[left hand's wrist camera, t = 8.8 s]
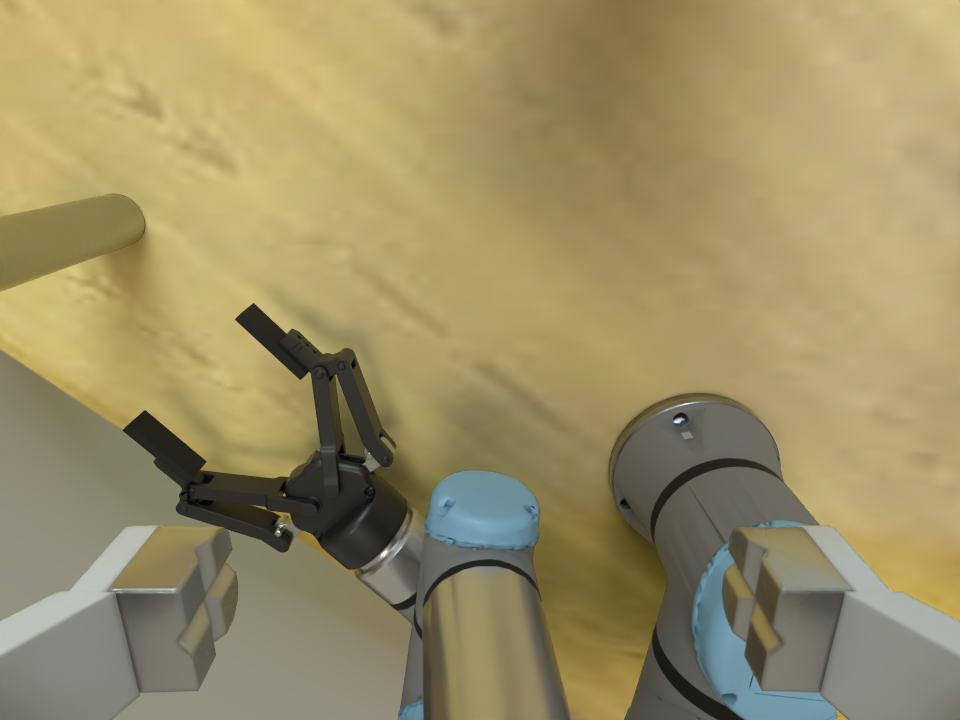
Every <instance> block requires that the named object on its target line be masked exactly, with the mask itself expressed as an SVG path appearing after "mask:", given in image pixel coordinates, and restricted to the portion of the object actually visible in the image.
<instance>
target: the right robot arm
mask: <svg viewBox="0 0 960 720" xmlns="http://www.w3.org/2000/svg"><path fill="white" fill-rule="evenodd" d="M235 320H236V321H237V322H238V323H239V324H240V325H241V326H242V327H244V328H245V329H246V330H247V331H248V332H249V333H250V334H251V335H252V336H253V337H254V338H255V339H257V340H258V341H259V342H260V343H261V344H262V345H263V346H264V347H265V348H266V349H267V350H268V351H270V352H271V353H272V354H273V355H274V356H275V357H276V358H277V359H278V360H279V361H280V362H281V363H283V364H284V365H285V366H286V367H287V368H288V369H289V370H290V371H291V372H292V373H293V374H294V375H296V376H297V377H298V378H299V379H300V380H301V379H302V378H303V377H304V376H305V375H306V374H307V373H308V372H310V373H311V377H312V385H313V392H314V400H315V407H316V414H317V422H318V429H319V437H320V444H321V448H320V451H319V452H318V451H317V450H316V451H315V452H314V453H313V454H312V455H311V456H310V457H309V459H308V460H307V462H306V463H304V464H302V465H300V466H298V467H297V468H296V469H294V470H293V471H292V472H291V474H290V476H289V477H278V478H275V479H271V478H263V477H254V476H245V475H237V474H228V473H219V472H211V471H200V469H201V468H202V467H203V466H204V464H205V463H206V462H207V461H205V460H204V459H203V458H202V457H201V456H199V455H198V454H197V453H196V452H195V451H193V450H192V449H191V448H190V447H189V446H187V445H186V444H185V443H184V442H183V441H181V440H180V439H179V438H178V437H177V436H175V435H174V434H173V433H172V432H171V431H169V430H168V429H167V428H166V427H165V426H163V425H162V424H161V423H160V422H159V421H158V420H156V419H155V418H154V417H153V416H152V415H150V414H149V413H148V412H147V411H146V410H145V411H143V412H142V413H141V414H140V415H139V416H138V417H137V418H135V419H134V420H133V421H132V422H131V423H130V424H128V425H127V426H126V427H125V428H124V429H123V431H124V432H125V433H126V434H127V435H129V436H130V437H131V438H132V439H134V440H135V441H136V442H137V443H138V444H140V445H141V446H142V447H143V448H145V449H146V450H147V451H148V452H149V453H151V454H152V455H153V456H154V457H156V459H155V460H154V463H155V465H156V466H157V467H158V468H159V469H160V470H161V471H163V472H164V473H165V474H167V476H169V477H170V478H171V479H172V480H174V481H175V482H176V483H177V484H179V485H180V486H181V488H182V491H181V493H180V494H179V497H180V501H179V503H178V504H177V506H176V511H177V512H178V513H179V514H181V515H183V516H186V517H190V518H193V519H196V520H199V521H202V522H206V523H209V524H212V525H215V526H218V527H224V528H225V529H228V530H231V531H234V532H237V533H241V534H244V535H247V536H250V537H254V538H257V539H260V540H262V541H264V542H265V543H267V544H268V545H270V546H271V547H273V548H274V549H276V550H277V551H279V552H286V551H288V549H289V547H290V545H291V543H292V540H293V539H294V538H295V537H296V536H297V535H298V534H299V532H300V531H301V530H302V531H306V532H309V533H311V534H313V535H314V536H315V538H316V539H317V540H318V542H319V544H320V545H321V547H322V548H323V549H324V550H325V551H326V552H328V553H329V554H330V555H331V556H332V557H334V558H335V559H336V560H337V561H338V562H340V563H341V564H342V565H343V566H344V567H345V568H347V569H349V570H351V569H355V575H356V578H358V579H359V580H360V581H361V582H363V583H364V584H365V585H366V586H368V587H369V588H370V589H371V590H372V591H374V592H375V593H376V594H377V595H379V596H380V597H381V598H382V599H384V600H385V601H386V602H387V603H389V604H390V605H391V606H392V607H393V608H394V609H395V610H397V611H398V612H399V613H401V614H402V615H403V616H404V617H405V618H406V619H407V620H408V621H409V622H410V623H411V624H412V630H411V636H410V643H409V650H408V657H407V665H406V672H405V680H404V686H403V693H402V700H401V706H400V711H399V713H398V720H572V719H571V714H570V711H569V707H568V703H567V699H566V695H565V691H564V687H563V683H562V679H561V676H560V672H559V668H558V664H557V660H556V656H555V652H554V648H553V644H552V640H551V637H550V633H549V629H548V625H547V621H546V617H545V613H544V609H543V605H542V601H541V598H540V593H539V589H538V584H537V580H536V576H535V572H534V568H533V551H534V547H535V544H536V543H537V542H538V538H539V534H538V526H539V517H540V508H539V503H538V501H537V499H536V497H535V495H534V494H533V493H532V492H531V491H530V490H529V489H528V488H527V487H526V486H525V485H524V484H523V483H521V482H519V481H518V480H516V479H514V478H512V477H510V476H507V475H504V474H501V473H497V472H493V471H479V470H466V471H460V472H457V473H453V474H451V475H449V476H447V477H445V478H444V479H442V480H441V481H440V482H439V483H438V484H437V485H436V487H435V488H434V490H433V492H432V495H431V499H430V504H429V509H428V515H427V519H426V518H425V517H424V516H423V515H422V514H421V513H420V512H419V511H418V510H416V509H415V508H414V507H408V506H407V500H406V499H405V498H404V497H403V496H402V495H400V494H399V493H398V492H397V491H396V490H395V489H394V488H393V487H392V486H391V485H389V484H388V483H387V482H386V481H385V480H384V479H383V478H381V477H378V476H377V475H376V474H375V473H374V470H375V469H377V468H378V467H380V466H383V467H388V466H390V465H391V464H392V462H393V458H394V454H395V450H396V444H395V442H394V441H393V440H392V439H391V438H390V436H389V435H388V434H387V433H386V432H385V431H384V429H383V428H382V426H381V423H380V420H379V418H378V415H377V412H376V410H375V407H374V404H373V402H372V399H371V396H370V393H369V391H368V388H367V385H366V383H365V380H364V377H363V375H362V372H361V369H360V366H359V364H358V361H357V358H356V356H355V353H354V351H353V350H351V349H349V348H344V349H342V351H341V352H338V353H336V354H333V355H332V354H329V353H326V354H322V353H321V352H320V351H319V350H318V349H317V348H316V347H314V346H313V345H312V344H311V343H310V342H309V341H308V340H307V339H306V338H305V337H304V336H303V335H302V334H301V333H300V332H299V331H296V330H294V329H291V330H290V331H289V332H288V333H287V334H286V333H285V332H284V331H283V330H282V329H281V328H280V327H279V326H278V325H276V324H275V323H274V322H273V321H272V320H271V319H270V318H269V317H268V316H267V315H266V314H265V313H264V312H263V311H262V310H261V309H259V308H258V307H257V306H256V305H255V304H254V303H253V304H252V305H251V306H249V307H248V308H247V309H246V310H245V311H243V312H242V313H241V314H240V315H239V316H238V317H237V318H236V319H235ZM335 375H337V377H338V380H339V383H340V385H341V388H342V390H343V393H344V395H345V398H346V401H347V403H348V406H349V408H350V411H351V414H352V416H353V419H354V421H355V424H356V427H357V429H358V432H359V434H360V437H361V440H362V442H363V444H364V446H365V448H364V455H365V457H366V458H364V457H361V456H355V455H350V454H346V450H345V441H344V434H343V433H342V429H341V421H340V412H339V404H338V396H337V388H336V379H335ZM609 481H610V487H611V490H612V494H613V496H614V499H615V502H616V505H617V507H618V509H619V511H620V513H621V515H622V516H623V518H624V519H625V520H626V521H627V523H628V524H629V525H630V526H631V527H632V528H633V529H635V530H636V531H637V532H638V533H639V534H640V535H642V536H643V537H644V538H645V539H646V540H647V541H648V542H650V543H651V544H652V545H653V546H654V547H655V548H656V551H657V553H658V556H659V558H660V561H661V563H662V566H663V568H664V571H665V573H666V581H667V583H666V591H665V595H664V598H663V601H662V605H661V608H660V611H659V614H658V618H657V622H656V625H655V628H654V631H653V635H652V638H651V642H650V645H649V648H648V652H647V655H646V658H645V661H644V665H643V668H642V671H641V674H640V678H639V681H638V684H637V688H636V691H635V694H634V697H633V701H632V704H631V707H630V708H629V709H628V711H627V714H626V716H625V719H624V720H835V719H836V718H837V714H836V710H837V709H835V708H834V707H833V706H832V705H831V704H829V703H828V702H827V701H826V700H825V699H824V698H822V697H821V696H820V693H814V692H779V691H762V690H761V688H760V686H759V684H758V682H757V680H756V678H755V676H754V674H753V672H752V670H751V668H750V666H749V664H748V662H747V660H746V658H745V656H744V653H745V647H746V642H745V641H743V640H742V639H741V638H739V637H738V636H736V635H735V634H734V633H733V632H732V630H731V628H730V626H729V624H728V621H727V618H726V615H725V612H724V608H723V598H722V584H723V575H724V572H725V571H726V570H727V569H728V568H729V567H730V566H731V565H732V564H733V563H734V560H733V558H732V556H731V554H730V553H729V551H728V544H729V538H730V535H731V533H732V531H733V529H734V528H744V527H796V526H814V525H820V524H819V523H818V522H817V521H816V520H815V519H814V518H813V516H812V515H811V514H810V513H809V512H808V510H807V509H806V508H805V507H804V506H803V504H802V503H801V502H800V501H799V499H798V498H797V497H796V496H795V495H794V493H793V492H792V491H791V490H790V489H789V487H788V486H787V485H786V484H785V483H784V480H783V476H782V472H781V464H780V457H779V452H778V448H777V445H776V443H775V441H774V438H773V437H772V435H771V433H770V432H769V431H768V429H767V428H766V427H765V426H764V424H763V423H762V422H761V421H760V420H759V419H758V418H757V417H756V416H755V415H754V414H753V413H752V412H751V411H750V410H748V409H747V408H746V407H744V406H743V405H741V404H739V403H737V402H735V401H733V400H731V399H728V398H725V397H722V396H717V395H712V394H688V395H682V396H677V397H673V398H670V399H667V400H664V401H662V402H660V403H657V404H655V405H653V406H652V407H650V408H648V409H647V410H645V411H644V412H642V413H641V414H640V415H639V416H637V417H636V418H635V419H634V420H633V421H632V422H631V423H630V424H629V425H628V426H627V427H626V429H625V430H624V431H623V432H622V434H621V435H620V437H619V439H618V441H617V442H616V444H615V447H614V449H613V452H612V455H611V459H610V464H609ZM284 493H285V495H286V496H283V494H284ZM252 505H256V506H264V507H266V508H267V509H268V510H270V511H277V512H286V513H290V515H291V519H289V517H288V516H287V515H284V516H283V517H281V516H279V515H277V514H275V513H273V512H270V511H267V510H264V509H261V508H258V507H255V506H252Z"/></svg>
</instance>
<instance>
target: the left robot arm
mask: <svg viewBox="0 0 960 720" xmlns="http://www.w3.org/2000/svg"><path fill="white" fill-rule="evenodd" d="M231 551H232V545H231V540H230V535H229V532H228V531H227V530H226V529H225V528H224V527H207V526H159V525H143V526H142V525H141V526H130V527H127V528H124V529H123V530H122V532H121V533H120V534H119V535H118V536H117V537H116V538H115V540H114V541H113V542H112V543H111V544H110V545H109V546H108V547H107V549H106V550H105V551H104V552H103V553H102V554H101V555H100V557H99V558H98V559H97V560H96V561H95V562H94V563H93V565H92V566H91V567H90V568H89V569H88V570H87V571H86V572H85V574H84V575H83V576H82V577H81V578H80V579H79V581H78V582H77V583H76V584H75V585H74V586H73V587H72V588H71V589H70V591H69V592H57V593H55V594H53V595H51V596H49V597H47V598H45V599H43V600H41V601H39V602H37V603H35V604H33V605H31V606H29V607H27V608H25V609H23V610H21V611H19V612H17V613H15V614H13V615H12V616H10V617H8V618H6V619H4V620H2V621H0V720H112V719H113V718H114V717H116V716H117V715H118V714H119V713H120V712H121V711H123V710H124V709H125V708H126V707H127V706H128V705H130V704H131V703H132V702H133V701H134V700H136V699H137V698H138V697H139V696H140V693H145V692H180V691H198V690H199V688H200V686H201V684H202V682H203V680H204V678H205V676H206V674H207V672H208V670H209V668H210V666H211V664H212V662H213V660H214V658H215V656H216V653H215V647H214V642H215V641H217V640H218V639H219V638H221V637H222V636H224V635H225V634H226V633H227V632H228V630H229V628H230V626H231V623H232V621H233V619H234V615H235V610H236V606H237V601H238V582H237V575H236V572H235V571H234V570H233V569H232V568H231V567H230V566H229V565H228V564H227V563H226V560H227V558H228V556H229V554H230V553H231ZM728 551H729V553H730V554H731V556H732V558H733V560H734V563H733V564H732V565H731V566H730V567H729V568H728V569H727V570H726V571H725V572H724V575H723V584H722V598H723V608H724V612H725V615H726V618H727V621H728V624H729V626H730V628H731V630H732V632H733V633H734V634H735V635H736V636H738V637H739V638H741V639H742V640H743V641H745V642H746V647H745V653H744V656H745V658H746V660H747V662H748V664H749V666H750V668H751V670H752V672H753V674H754V676H755V678H756V680H757V682H758V684H759V686H760V688H761V690H762V691H779V692H814V693H820V696H821V697H822V698H824V699H825V700H826V701H827V702H828V703H829V704H831V705H832V706H833V707H834V708H835V709H837V710H838V711H839V712H840V713H841V714H842V715H844V716H845V717H846V718H847V719H848V720H960V621H958V620H956V619H954V618H952V617H950V616H948V615H946V614H944V613H942V612H940V611H939V610H937V609H935V608H933V607H931V606H929V605H927V604H925V603H923V602H921V601H919V600H917V599H915V598H913V597H911V596H909V595H907V594H905V593H903V592H891V591H890V589H889V588H888V587H887V586H886V585H885V584H884V583H883V582H882V580H881V579H880V578H879V577H878V576H877V575H876V574H875V572H874V571H873V570H872V569H871V568H870V567H869V566H868V565H867V563H866V562H865V561H864V560H863V559H862V558H861V557H860V555H859V554H858V553H857V552H856V551H855V550H854V549H853V548H852V546H851V545H850V544H849V543H848V542H847V541H846V540H845V538H844V537H843V536H842V535H841V534H840V533H839V532H838V530H837V529H835V528H833V527H831V526H829V525H814V526H796V527H744V528H734V529H733V531H732V533H731V535H730V538H729V544H728Z"/></svg>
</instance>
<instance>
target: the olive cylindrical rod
mask: <svg viewBox="0 0 960 720" xmlns="http://www.w3.org/2000/svg"><path fill="white" fill-rule="evenodd" d="M144 227H145V222H144V217H143V214H142V212H141V210H140V208H139V207H138V206H137V205H136V204H135V203H134V202H133V201H132V200H131V199H129V198H127V197H125V196H123V195H119V194H108V195H103V196H98V197H94V198H89V199H84V200H79V201H74V202H69V203H64V204H60V205H55V206H50V207H45V208H40V209H35V210H31V211H26V212H21V213H16V214H11V215H6V216H2V217H0V292H1V291H4V290H6V289H9V288H12V287H15V286H17V285H20V284H23V283H26V282H28V281H31V280H34V279H37V278H40V277H42V276H45V275H48V274H51V273H53V272H56V271H59V270H62V269H64V268H67V267H70V266H73V265H75V264H78V263H81V262H84V261H86V260H89V259H92V258H95V257H97V256H100V255H103V254H106V253H108V252H111V251H114V250H117V249H120V248H122V247H125V246H128V245H131V244H133V243H135V242H136V241H138V240H139V239H140V238H141V236H142V234H143V232H144Z"/></svg>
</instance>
